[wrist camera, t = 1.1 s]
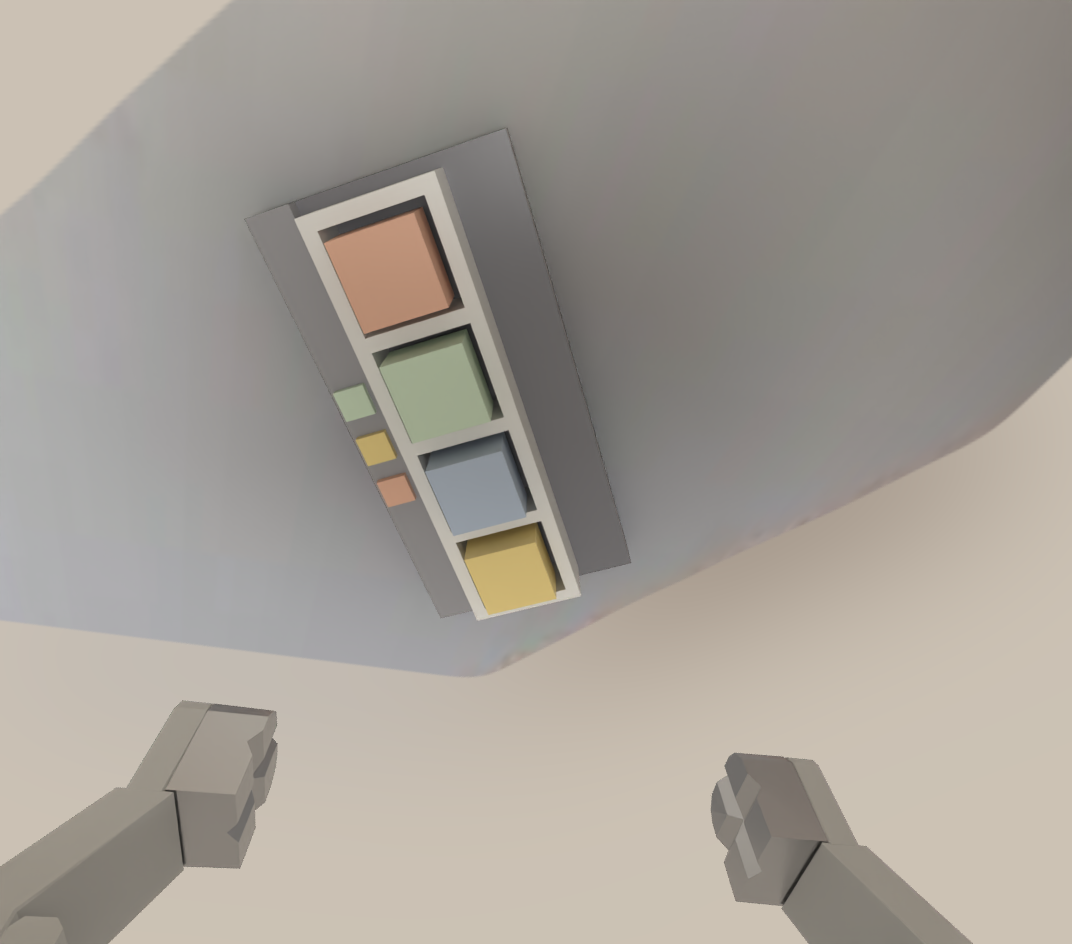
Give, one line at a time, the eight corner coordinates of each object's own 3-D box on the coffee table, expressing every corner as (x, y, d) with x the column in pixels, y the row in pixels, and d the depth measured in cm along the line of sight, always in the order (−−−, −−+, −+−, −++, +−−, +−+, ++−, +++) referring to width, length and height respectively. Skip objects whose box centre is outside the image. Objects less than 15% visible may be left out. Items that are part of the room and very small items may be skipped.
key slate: (503, 431, 36) (501, 451, 34) (526, 494, 38) (526, 517, 36) (431, 451, 37) (425, 472, 34) (457, 512, 39) (453, 535, 36)
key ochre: (535, 518, 39) (535, 542, 37) (555, 573, 41) (556, 598, 39) (468, 536, 39) (464, 560, 37) (490, 589, 41) (488, 615, 39)
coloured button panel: (507, 127, 32) (503, 127, 28) (627, 545, 44) (637, 591, 40) (260, 214, 34) (219, 227, 30) (440, 591, 46) (431, 640, 42)
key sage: (466, 328, 33) (461, 342, 31) (493, 403, 35) (490, 421, 33) (389, 352, 34) (379, 367, 32) (419, 424, 36) (412, 443, 34)
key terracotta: (422, 206, 30) (413, 212, 28) (454, 295, 32) (448, 307, 30) (338, 234, 31) (323, 243, 29) (375, 320, 33) (363, 334, 31)
